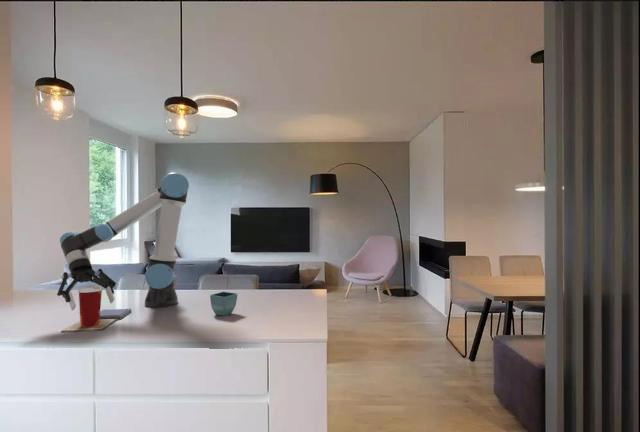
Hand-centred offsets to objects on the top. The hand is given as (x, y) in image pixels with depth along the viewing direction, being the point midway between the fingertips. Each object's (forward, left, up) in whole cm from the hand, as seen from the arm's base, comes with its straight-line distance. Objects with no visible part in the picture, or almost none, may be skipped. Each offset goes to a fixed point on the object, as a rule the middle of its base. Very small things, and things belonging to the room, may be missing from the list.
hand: (94, 304), depth 133 cm
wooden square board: (+2, -2, -9) cm, 9 cm away
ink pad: (0, -15, -9) cm, 17 cm away
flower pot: (-48, -11, -9) cm, 50 cm away
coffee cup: (+2, -1, -8) cm, 9 cm away
